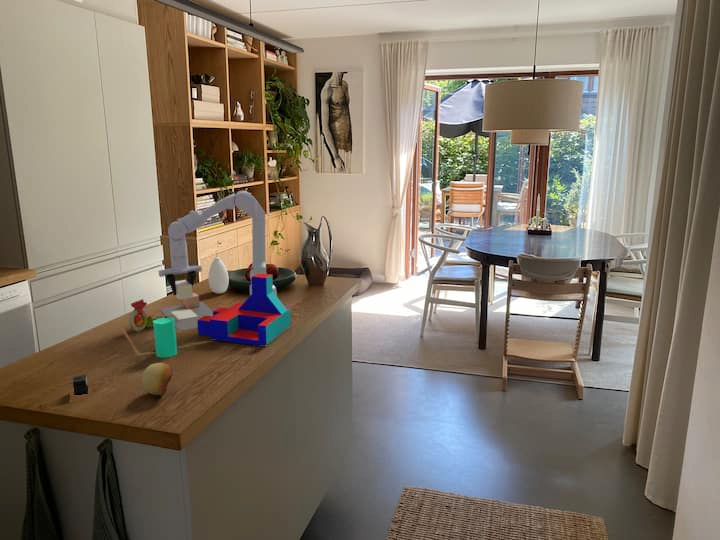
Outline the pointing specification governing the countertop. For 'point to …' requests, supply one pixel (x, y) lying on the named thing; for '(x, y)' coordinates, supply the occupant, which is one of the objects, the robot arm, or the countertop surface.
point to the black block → (80, 385)
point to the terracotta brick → (191, 301)
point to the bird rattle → (139, 321)
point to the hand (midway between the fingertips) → (182, 293)
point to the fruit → (157, 378)
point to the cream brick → (183, 289)
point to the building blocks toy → (249, 317)
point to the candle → (165, 337)
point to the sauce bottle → (218, 276)
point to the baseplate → (187, 315)
